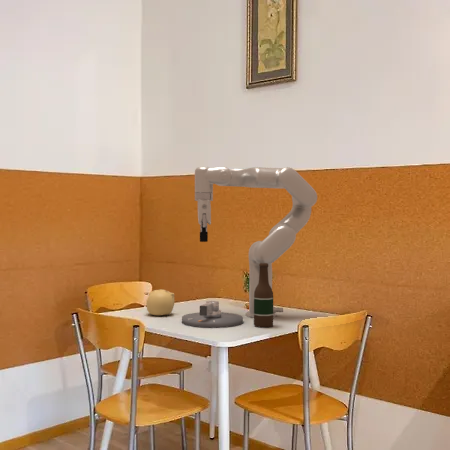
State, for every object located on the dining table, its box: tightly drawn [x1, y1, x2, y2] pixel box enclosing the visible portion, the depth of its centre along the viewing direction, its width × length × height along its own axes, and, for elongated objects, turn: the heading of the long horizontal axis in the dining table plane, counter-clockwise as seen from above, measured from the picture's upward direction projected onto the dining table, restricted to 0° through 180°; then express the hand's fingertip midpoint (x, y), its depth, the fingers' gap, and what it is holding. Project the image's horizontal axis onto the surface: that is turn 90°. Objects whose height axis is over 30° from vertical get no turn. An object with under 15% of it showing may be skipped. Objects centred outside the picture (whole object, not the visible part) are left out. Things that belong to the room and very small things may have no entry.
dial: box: [199, 300, 222, 318], centre depth 240 cm, size 15×7×6 cm, turn 163°
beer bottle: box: [253, 263, 274, 328], centre depth 236 cm, size 8×8×24 cm
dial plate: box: [181, 311, 244, 329], centre depth 244 cm, size 24×24×2 cm
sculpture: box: [145, 288, 175, 316], centre depth 260 cm, size 12×12×11 cm
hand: (203, 241), depth 256 cm, fingers closed
